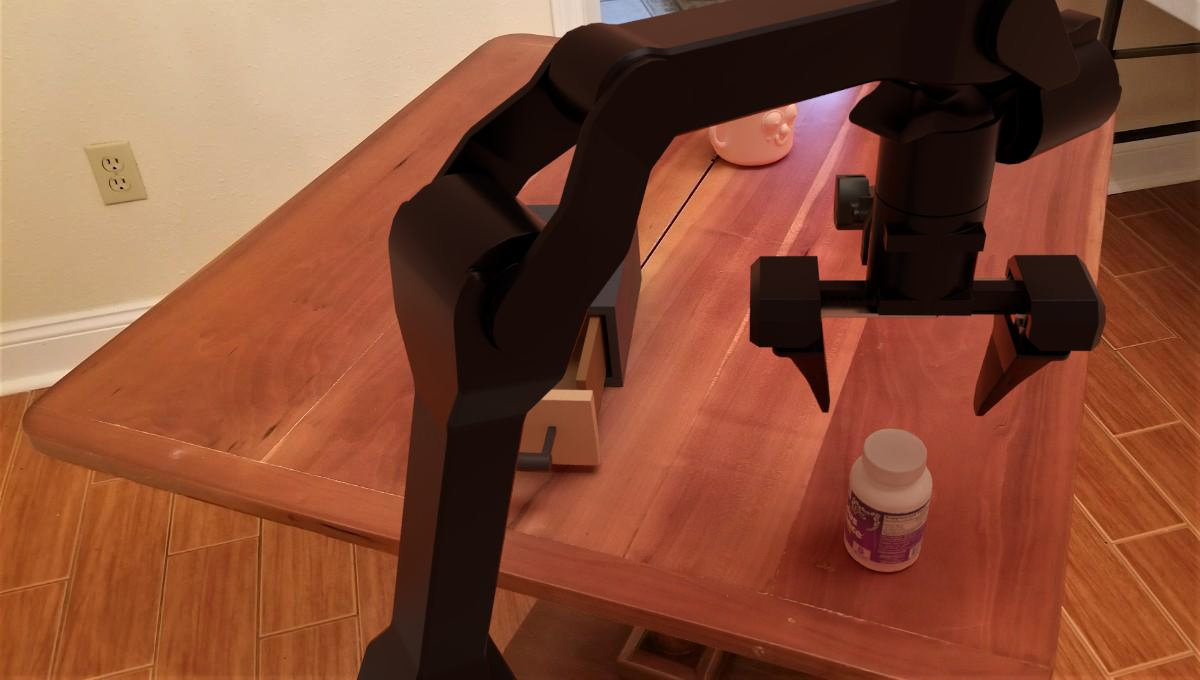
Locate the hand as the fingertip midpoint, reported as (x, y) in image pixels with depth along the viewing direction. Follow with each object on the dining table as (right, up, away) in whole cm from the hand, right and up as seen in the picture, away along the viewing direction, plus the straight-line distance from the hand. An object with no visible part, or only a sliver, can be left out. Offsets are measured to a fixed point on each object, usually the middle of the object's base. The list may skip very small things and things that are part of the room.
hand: (900, 409), depth 59 cm
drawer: (-24, -2, +21) cm, 32 cm away
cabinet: (-22, +5, +32) cm, 39 cm away
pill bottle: (+1, -10, +8) cm, 13 cm away
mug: (-1, +27, +56) cm, 62 cm away
